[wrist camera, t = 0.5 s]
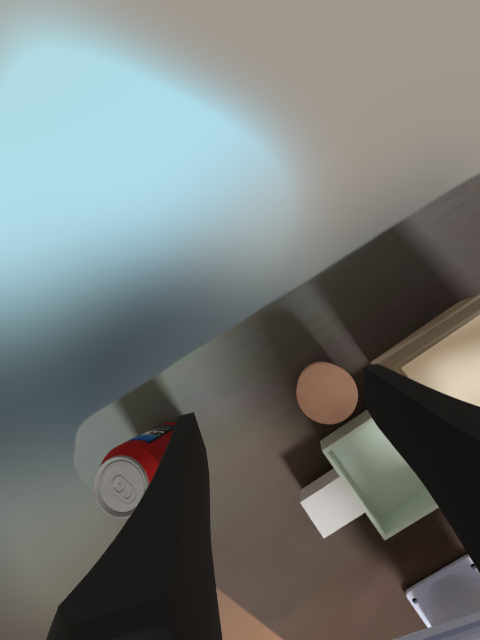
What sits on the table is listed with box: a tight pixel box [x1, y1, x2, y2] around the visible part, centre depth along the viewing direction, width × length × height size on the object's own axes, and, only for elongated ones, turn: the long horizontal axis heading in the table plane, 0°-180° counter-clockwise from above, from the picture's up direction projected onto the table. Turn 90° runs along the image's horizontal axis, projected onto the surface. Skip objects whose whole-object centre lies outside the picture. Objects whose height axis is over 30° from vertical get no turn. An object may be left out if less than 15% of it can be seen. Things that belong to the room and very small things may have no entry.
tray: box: [300, 410, 439, 540], centre depth 33 cm, size 10×15×4 cm, turn 125°
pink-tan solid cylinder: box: [296, 361, 358, 424], centre depth 33 cm, size 6×6×8 cm
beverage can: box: [94, 422, 175, 518], centre depth 34 cm, size 7×7×12 cm
